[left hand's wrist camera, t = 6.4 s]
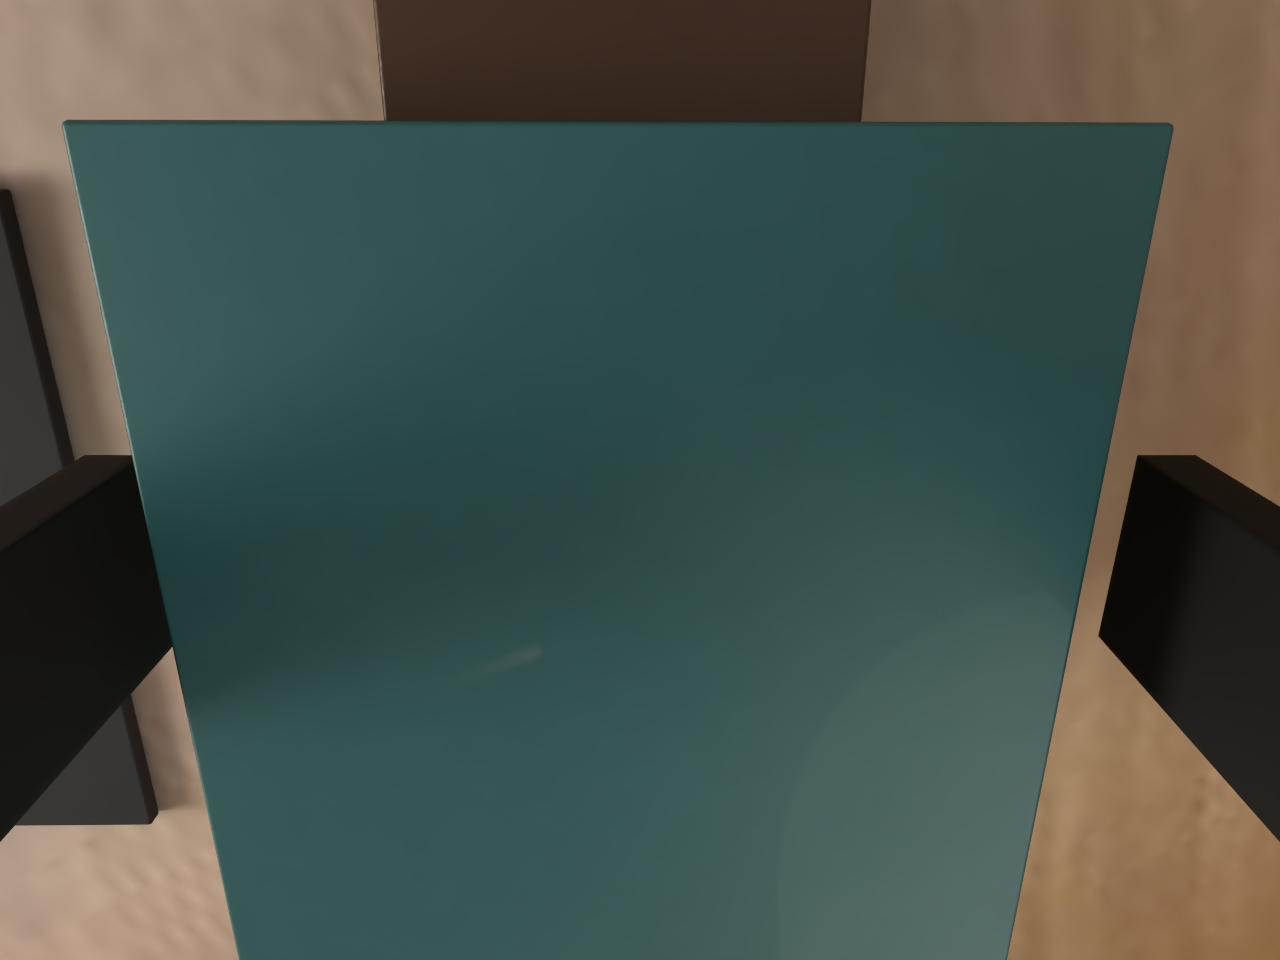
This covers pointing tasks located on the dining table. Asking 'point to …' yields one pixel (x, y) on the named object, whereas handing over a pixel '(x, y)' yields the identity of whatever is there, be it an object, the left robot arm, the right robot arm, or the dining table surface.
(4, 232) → the rubber mat
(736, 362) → the teal flat block
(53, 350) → the dining table surface
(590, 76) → the walnut case
